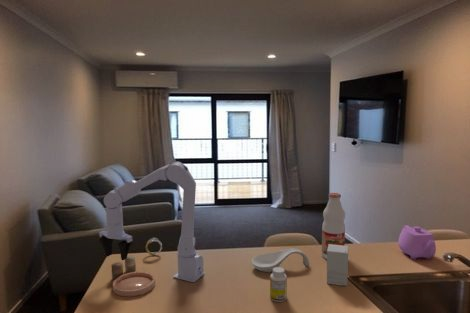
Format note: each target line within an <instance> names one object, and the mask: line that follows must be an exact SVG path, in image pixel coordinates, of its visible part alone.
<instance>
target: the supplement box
mask: <svg viewBox="0 0 470 313" xmlns="http://www.w3.org/2000/svg"><path fill="white" fill-rule="evenodd" d="M348 269H349V246H348V245H344V246H342V245H333V244H328V249H327V259H326V284H327V285H329V284H330V285H335V284H336V285H337V286H342V285H345V286H344V287H347V286H348V275H349V274H348V272H349V270H348Z"/></svg>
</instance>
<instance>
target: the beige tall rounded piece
mask: <svg viewBox="0 0 470 313" xmlns="http://www.w3.org/2000/svg"><path fill="white" fill-rule="evenodd" d="M124 272H125V274H127V273H131V272H137V266H136V256H135V255H133V254H132V255H127V259H125V260H124Z"/></svg>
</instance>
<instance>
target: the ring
mask: <svg viewBox="0 0 470 313" xmlns="http://www.w3.org/2000/svg"><path fill="white" fill-rule="evenodd" d="M153 242H157V243H158V244H159V248H160V249H159V250H158V251H157V252H151V251H150V250H149V249H148V246H149V245H150V244H151V243H153ZM162 250H163V244H162V242H161V241H160V240H159V238H157V237H152V238H150V239H149V240H148V241H147V242H146V244H145V251H146V253H147V254H148V255H149V256H150V255H151V256H153V257H154V256H156V255H159V254H160V253H161V252H162Z"/></svg>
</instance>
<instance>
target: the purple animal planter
mask: <svg viewBox="0 0 470 313" xmlns="http://www.w3.org/2000/svg"><path fill="white" fill-rule="evenodd" d="M398 247H399V249H400V250H401V253H402V254H405V255H409V258H410V259H411V260H417V259H418V258H423V259H427V260H430V259H431V257H434V256H435V254H436V251H437V249H436V248H437V246H436V242H435V237H434V235H433V233H432V232H430V231H428V230H427V229H425V228H422V227H420V226H418V225H417V226H412V227H411V226H409V225H403V227H402V229H401V232H400V234H399V237H398Z"/></svg>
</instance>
